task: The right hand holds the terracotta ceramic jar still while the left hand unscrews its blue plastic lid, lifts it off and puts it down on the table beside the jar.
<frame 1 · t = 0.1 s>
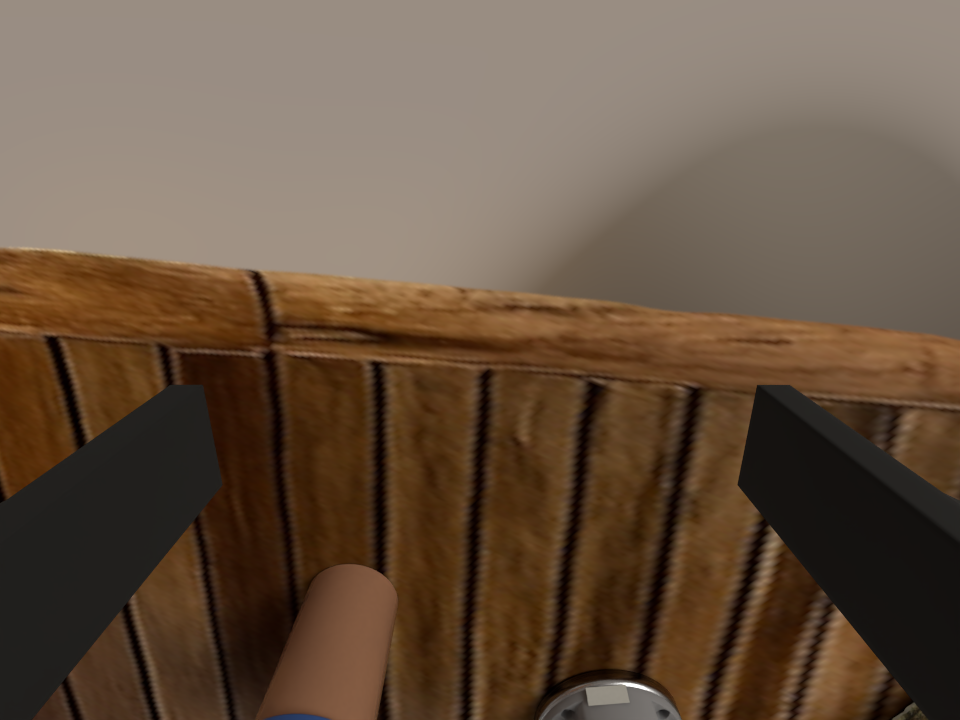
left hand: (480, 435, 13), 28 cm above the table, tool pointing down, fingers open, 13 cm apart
jar: (352, 599, 50), on the table
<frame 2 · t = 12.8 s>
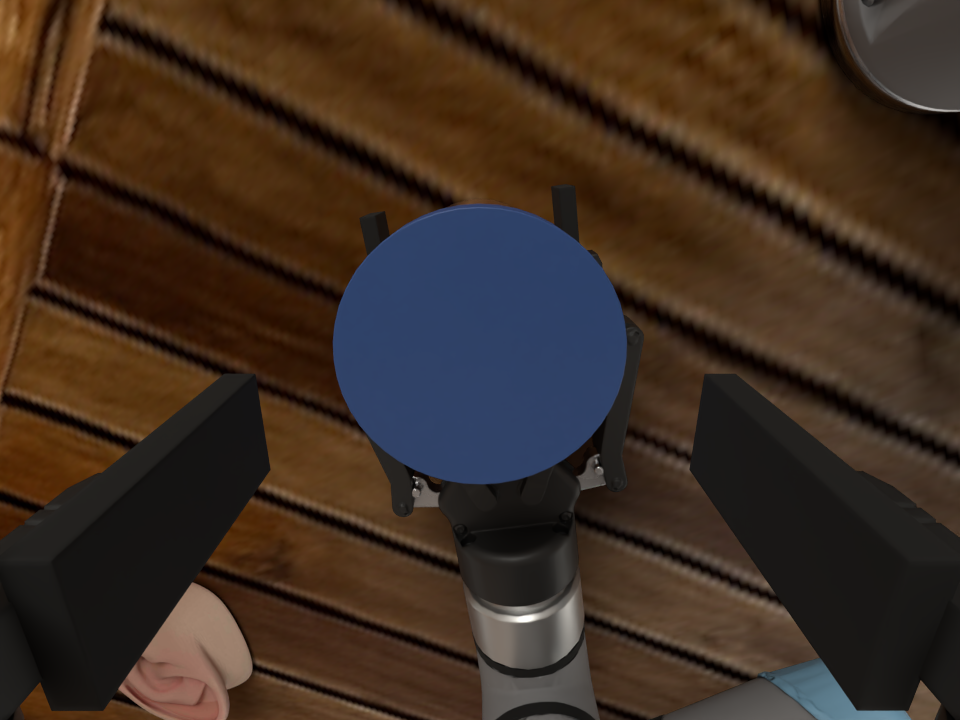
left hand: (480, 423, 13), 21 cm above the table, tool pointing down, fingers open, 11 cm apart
right hand: (466, 200, 26), fingers closed on jar, 9 cm apart
lid: (480, 355, 18), point 16 cm above the table, screwed on, not yet turned
anatomical model: (176, 631, 43), on the table
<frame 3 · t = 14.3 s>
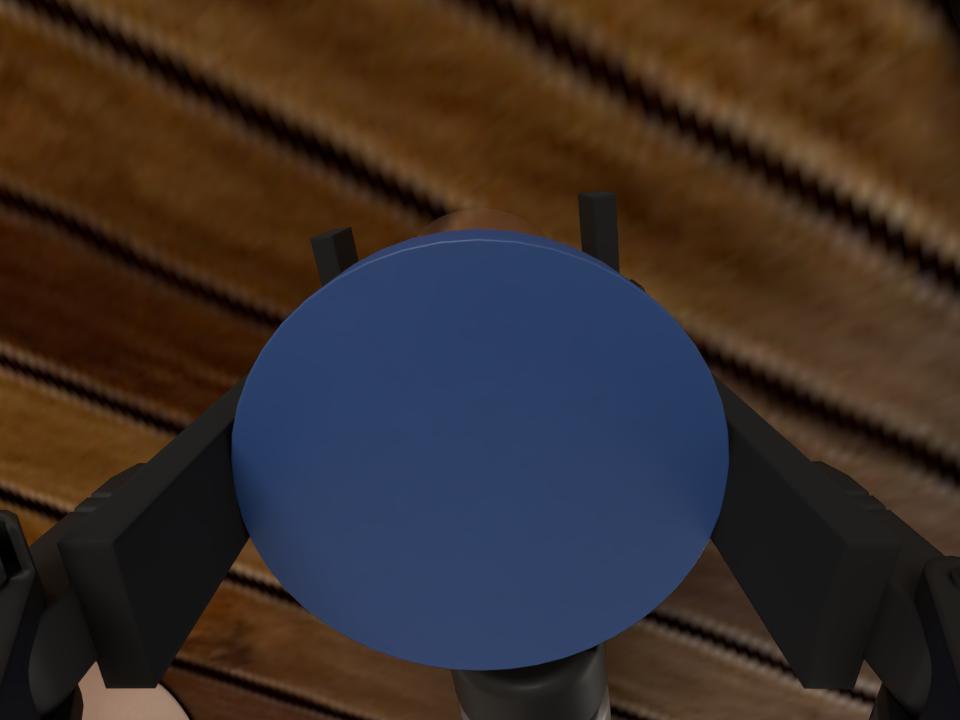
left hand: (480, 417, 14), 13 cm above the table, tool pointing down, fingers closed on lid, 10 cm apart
lid: (480, 480, 11), point 16 cm above the table, screwed on, not yet turned, touching left hand
jar: (480, 299, 26), on the table, touching right hand
when the left hand's fingers open (0 cm above the table, at t = 27.8 s): lid drops 2 cm, point 1 cm above the table.
when the right hand's fingers open (6 cm above the table, at t = 28.8 s): jar stays where it is, on the table.
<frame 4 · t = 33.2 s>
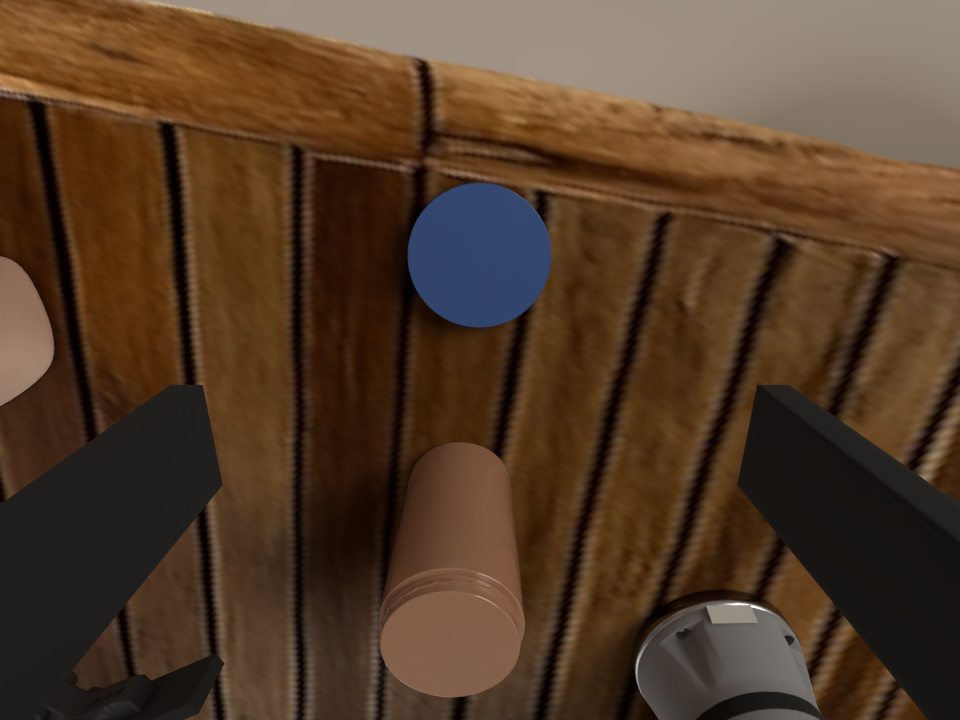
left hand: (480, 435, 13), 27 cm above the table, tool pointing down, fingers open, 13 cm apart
lid: (479, 258, 37), point 1 cm above the table, off its thread
jar: (460, 486, 44), on the table
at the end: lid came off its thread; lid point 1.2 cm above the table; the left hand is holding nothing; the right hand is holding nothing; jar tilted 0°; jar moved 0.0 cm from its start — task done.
